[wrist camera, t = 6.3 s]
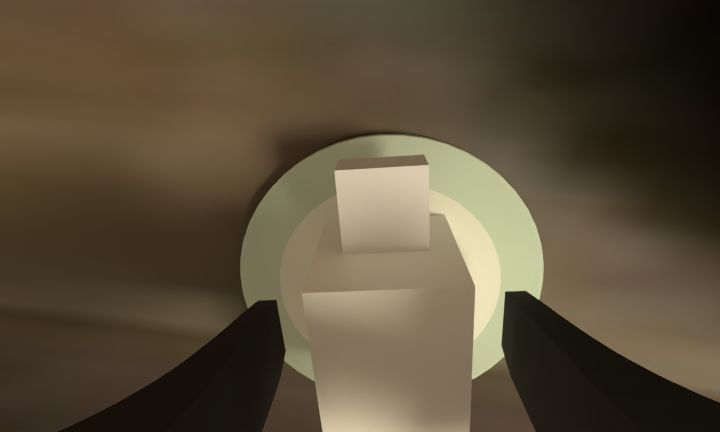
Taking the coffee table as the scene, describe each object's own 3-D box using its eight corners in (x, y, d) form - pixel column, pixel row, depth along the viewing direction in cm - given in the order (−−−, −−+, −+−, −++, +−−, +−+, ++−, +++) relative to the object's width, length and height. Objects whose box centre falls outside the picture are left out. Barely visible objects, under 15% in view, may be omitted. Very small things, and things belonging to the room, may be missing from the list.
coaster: (553, 121, 12) (561, 124, 12) (525, 387, 16) (530, 399, 16) (217, 144, 13) (210, 148, 12) (269, 392, 17) (265, 403, 16)
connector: (443, 356, 15) (467, 468, 11) (342, 359, 15) (328, 469, 11) (445, 143, 12) (479, 185, 8) (318, 150, 12) (286, 195, 8)
